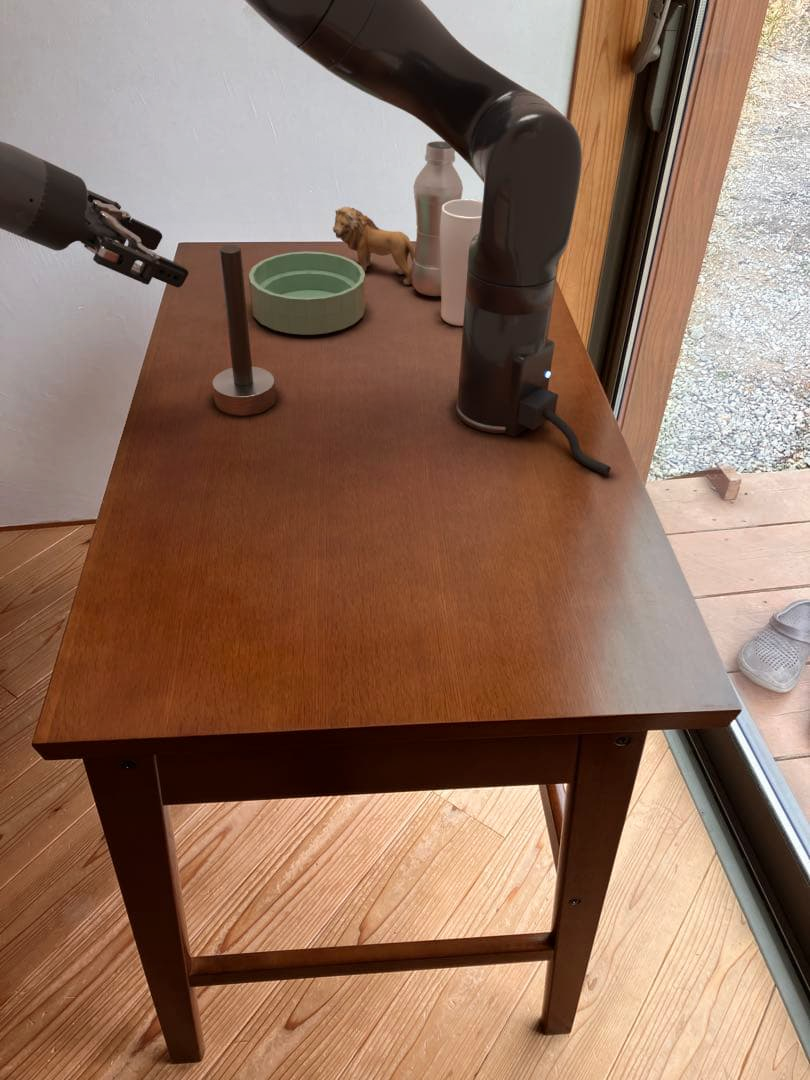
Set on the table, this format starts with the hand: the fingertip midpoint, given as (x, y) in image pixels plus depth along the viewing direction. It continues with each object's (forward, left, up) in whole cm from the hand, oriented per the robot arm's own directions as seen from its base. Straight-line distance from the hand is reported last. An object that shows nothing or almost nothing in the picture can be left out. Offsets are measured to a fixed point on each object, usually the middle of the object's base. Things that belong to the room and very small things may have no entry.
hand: (170, 259), depth 96 cm
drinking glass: (-13, -36, -15) cm, 41 cm away
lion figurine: (+5, -39, -15) cm, 42 cm away
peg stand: (-8, -2, -15) cm, 17 cm away
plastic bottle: (-5, -40, -15) cm, 43 cm away
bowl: (+3, -23, -15) cm, 28 cm away
